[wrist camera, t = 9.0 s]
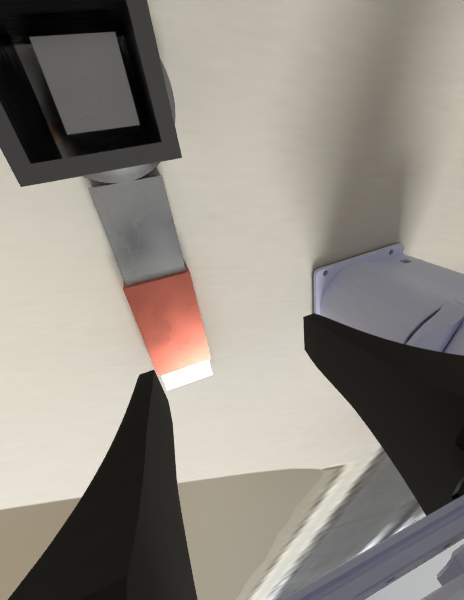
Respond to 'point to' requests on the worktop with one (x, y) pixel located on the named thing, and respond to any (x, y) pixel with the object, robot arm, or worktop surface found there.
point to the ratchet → (123, 188)
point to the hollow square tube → (26, 109)
